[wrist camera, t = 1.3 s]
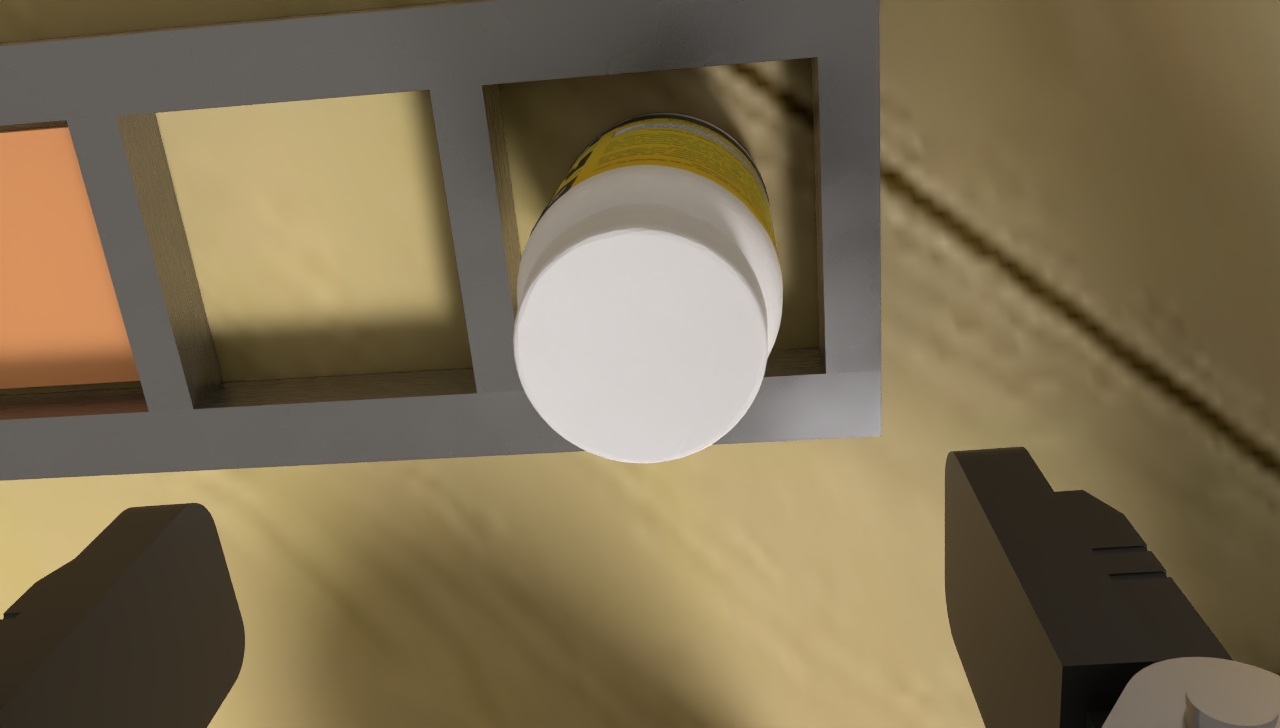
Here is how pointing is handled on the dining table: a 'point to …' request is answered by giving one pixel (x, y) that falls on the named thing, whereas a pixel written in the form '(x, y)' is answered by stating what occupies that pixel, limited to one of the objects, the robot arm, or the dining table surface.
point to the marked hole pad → (54, 271)
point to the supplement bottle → (650, 292)
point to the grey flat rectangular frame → (478, 210)
